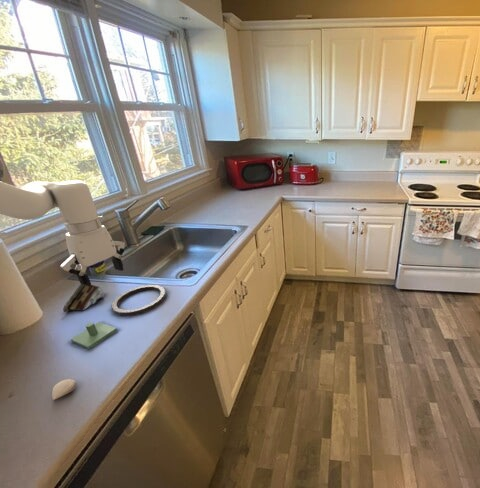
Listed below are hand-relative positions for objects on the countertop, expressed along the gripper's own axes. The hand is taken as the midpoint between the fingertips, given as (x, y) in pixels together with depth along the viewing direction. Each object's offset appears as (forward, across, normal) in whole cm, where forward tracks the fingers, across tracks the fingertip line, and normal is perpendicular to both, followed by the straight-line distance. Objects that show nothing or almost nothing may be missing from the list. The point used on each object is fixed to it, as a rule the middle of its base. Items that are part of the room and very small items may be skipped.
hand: (104, 277), depth 86 cm
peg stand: (+14, +9, +4) cm, 18 cm away
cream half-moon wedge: (+15, +24, +16) cm, 33 cm away
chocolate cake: (+15, 0, -16) cm, 21 cm away
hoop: (+14, -8, 0) cm, 16 cm away
